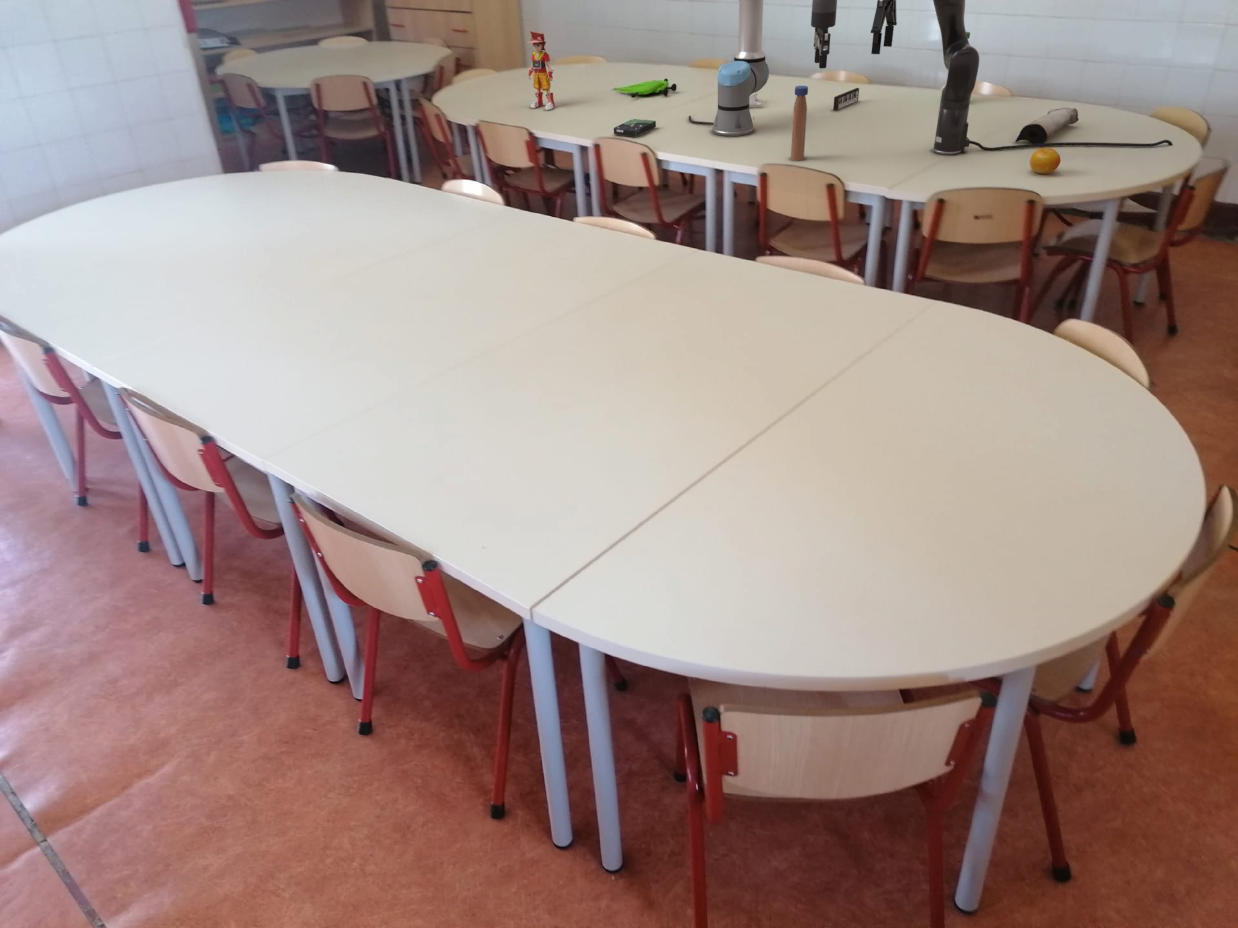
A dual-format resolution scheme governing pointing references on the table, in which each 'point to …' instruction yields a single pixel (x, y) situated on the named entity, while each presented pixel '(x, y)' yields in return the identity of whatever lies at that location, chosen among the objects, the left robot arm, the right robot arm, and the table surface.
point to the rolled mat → (1048, 125)
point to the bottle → (799, 128)
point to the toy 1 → (541, 71)
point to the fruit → (1045, 160)
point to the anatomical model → (753, 100)
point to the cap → (801, 90)
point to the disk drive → (634, 127)
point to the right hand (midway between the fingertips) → (820, 65)
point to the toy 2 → (648, 88)
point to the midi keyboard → (846, 98)
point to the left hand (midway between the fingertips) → (881, 50)
